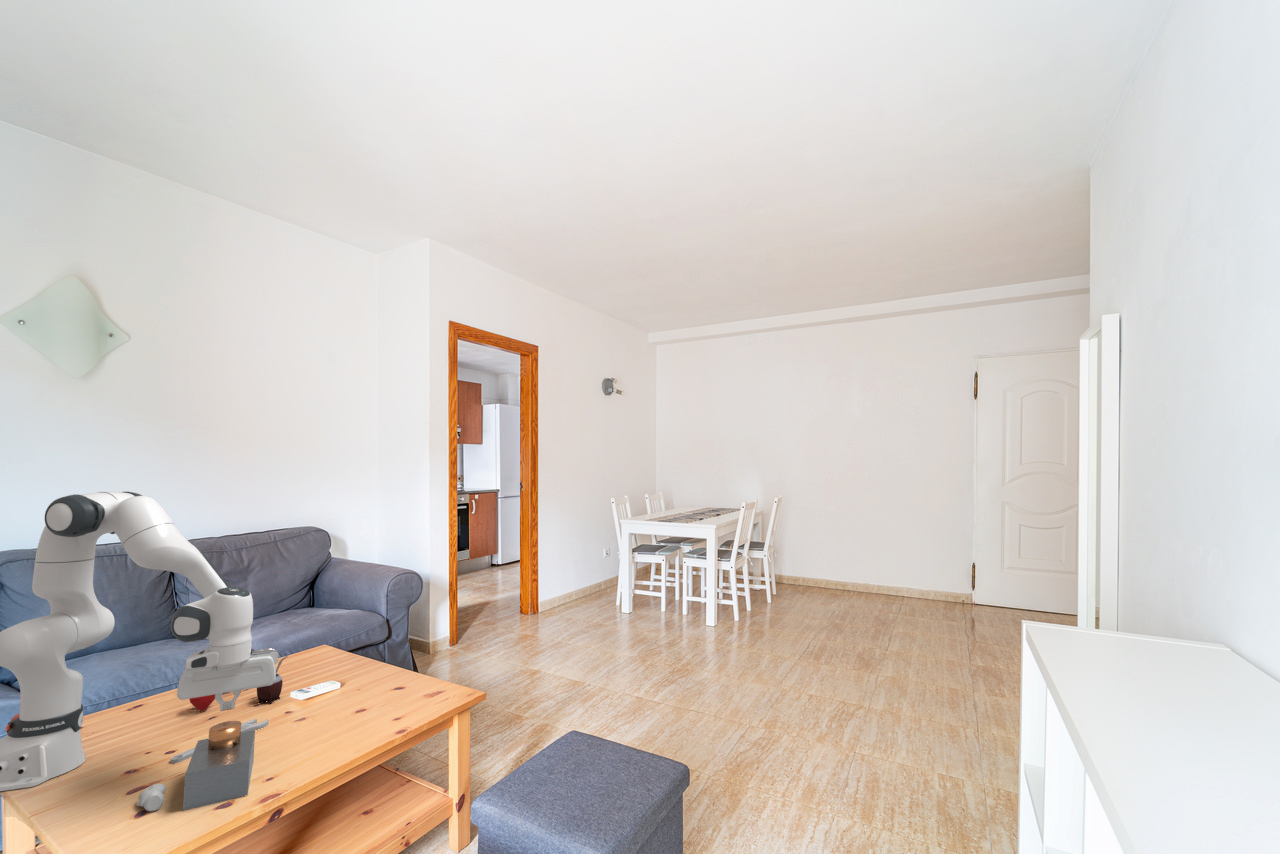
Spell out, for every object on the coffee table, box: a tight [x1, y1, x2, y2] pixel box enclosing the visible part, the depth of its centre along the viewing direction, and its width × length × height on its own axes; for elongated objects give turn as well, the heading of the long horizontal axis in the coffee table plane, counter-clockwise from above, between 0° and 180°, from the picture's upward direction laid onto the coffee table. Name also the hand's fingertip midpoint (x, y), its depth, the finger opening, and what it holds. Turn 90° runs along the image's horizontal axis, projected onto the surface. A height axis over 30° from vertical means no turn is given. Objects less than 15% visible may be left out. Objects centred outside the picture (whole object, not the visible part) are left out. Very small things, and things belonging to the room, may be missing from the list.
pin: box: [207, 720, 242, 750], centre depth 142 cm, size 7×7×11 cm
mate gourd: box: [256, 654, 290, 705], centre depth 187 cm, size 8×8×15 cm
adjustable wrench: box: [170, 718, 269, 764], centre depth 159 cm, size 25×6×2 cm, turn 156°
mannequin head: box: [136, 783, 167, 812], centre depth 129 cm, size 4×8×5 cm
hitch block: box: [182, 730, 256, 812], centre depth 138 cm, size 12×18×8 cm, turn 31°
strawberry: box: [188, 694, 216, 712], centre depth 178 cm, size 6×8×10 cm
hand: (227, 709), depth 142 cm, fingers closed
